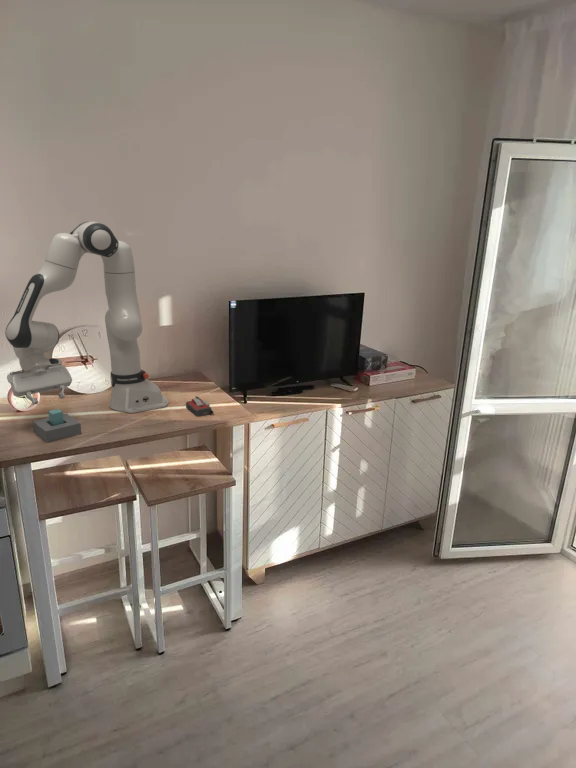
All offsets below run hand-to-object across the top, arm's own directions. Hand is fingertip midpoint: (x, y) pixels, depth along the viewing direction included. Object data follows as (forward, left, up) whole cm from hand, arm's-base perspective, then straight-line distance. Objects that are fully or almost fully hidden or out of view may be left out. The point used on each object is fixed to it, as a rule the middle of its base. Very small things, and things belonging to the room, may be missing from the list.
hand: (49, 400), depth 204 cm
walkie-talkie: (-54, -4, -11) cm, 55 cm away
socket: (-2, +5, -10) cm, 12 cm away
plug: (-2, +5, -10) cm, 12 cm away
